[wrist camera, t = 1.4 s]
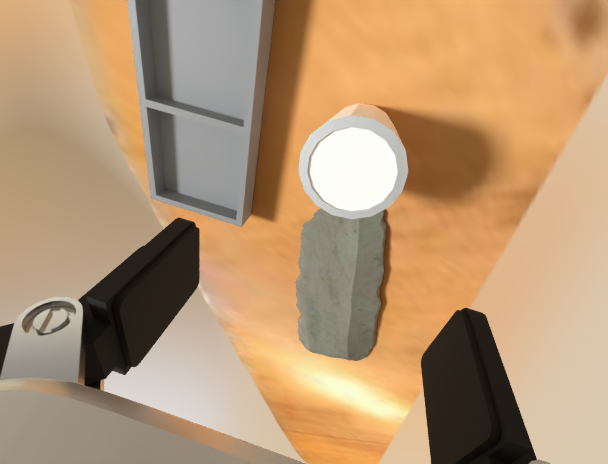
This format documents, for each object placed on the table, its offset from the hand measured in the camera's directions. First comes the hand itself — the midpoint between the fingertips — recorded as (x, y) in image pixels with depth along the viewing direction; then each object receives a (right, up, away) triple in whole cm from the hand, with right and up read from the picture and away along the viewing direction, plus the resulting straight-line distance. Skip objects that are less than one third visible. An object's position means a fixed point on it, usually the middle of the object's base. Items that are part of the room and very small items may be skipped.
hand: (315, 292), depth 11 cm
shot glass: (+4, +10, +14) cm, 17 cm away
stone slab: (+4, -4, +24) cm, 25 cm away
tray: (-9, +13, +15) cm, 22 cm away
